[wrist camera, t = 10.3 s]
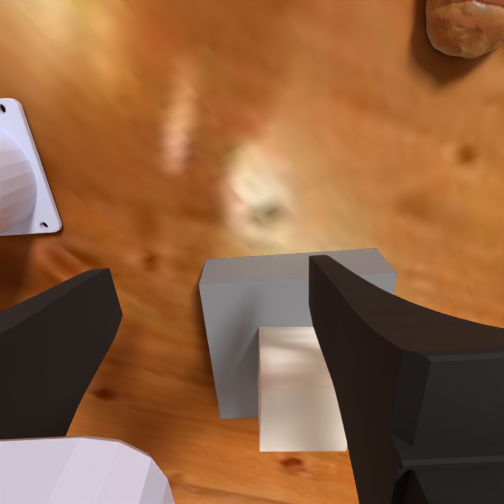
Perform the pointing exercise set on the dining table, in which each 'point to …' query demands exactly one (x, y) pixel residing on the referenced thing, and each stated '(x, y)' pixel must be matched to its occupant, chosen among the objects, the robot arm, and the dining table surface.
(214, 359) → the gray panel
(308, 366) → the cream block
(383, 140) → the dining table surface
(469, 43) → the pastry
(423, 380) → the robot arm
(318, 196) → the dining table surface
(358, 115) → the dining table surface
